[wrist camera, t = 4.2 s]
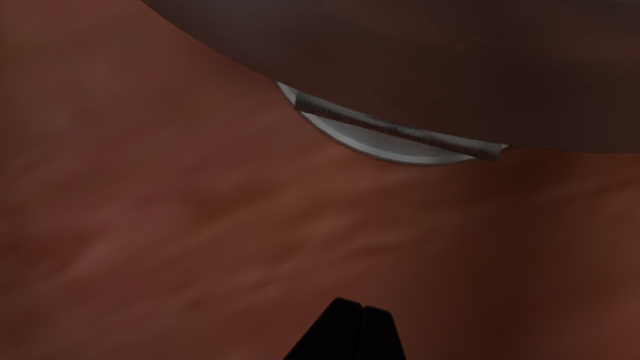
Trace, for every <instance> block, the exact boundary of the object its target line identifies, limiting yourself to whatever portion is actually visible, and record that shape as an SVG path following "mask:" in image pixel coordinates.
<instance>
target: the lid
mask: <svg viewBox="0 0 640 360" xmlns="http://www.w3.org/2000/svg"><path fill="white" fill-rule="evenodd" d="M141 1H142V2H143V3H145V4H146V5H147V6H149V7H150V8H151V9H153V10H154V11H155V12H157V13H158V14H159V15H161V16H162V17H163V18H165V19H166V20H167V21H169V22H170V23H172V24H174V25H175V26H177V27H178V28H180V29H181V30H183V31H184V32H186V33H187V34H189V35H190V36H192V37H193V38H195V39H197V40H198V41H200V42H202V43H203V44H205V45H207V46H209V47H210V48H212V49H214V50H215V51H217V52H219V53H221V54H222V55H224V56H226V57H228V58H230V59H232V60H234V61H236V62H238V63H240V64H242V65H244V66H245V67H247V68H249V69H251V70H254V71H256V72H258V73H260V74H262V75H264V76H266V77H269V78H271V79H273V80H275V81H277V82H280V83H282V84H284V85H287V86H289V87H292V88H294V89H296V90H298V91H297V95H296V100H295V107H294V109H295V110H297V111H301V112H305V113H308V114H312V115H316V116H320V117H324V118H327V119H331V120H335V121H339V122H342V123H346V124H350V125H354V126H358V127H361V128H365V129H369V130H373V131H376V132H380V133H384V134H388V135H392V136H395V137H399V138H403V139H407V140H411V141H414V142H418V143H422V144H426V145H429V146H433V147H437V148H441V149H445V150H448V151H452V152H456V153H460V154H463V155H467V156H471V157H475V158H479V159H482V160H486V161H490V162H495V161H496V160H497V158H498V156H499V153H500V151H501V148H502V144H504V145H511V146H519V147H527V148H537V149H548V150H559V151H573V152H593V153H640V0H141Z"/></svg>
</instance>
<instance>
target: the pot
mask: <svg viewBox="0 0 640 360" xmlns="http://www.w3.org/2000/svg"><path fill="white" fill-rule="evenodd" d="M274 82H275V83H276V85H277V86H278V88H279V89H280V91H281V92H282V94H283V95H284V97H285V98H286V99H287V101H288V102H289V103H290V104H291V105H292V106H293V107H295V100H296V95H297V91H298V90H296V89H294V88H292V87H289V86H287V85H284V84H282V83H280V82H277V81H275V80H274ZM296 111H297V110H296ZM297 112H298V113H299V114H300V115H301V116H302V117H303V118H304V119H305V120H307V121H308V122H309V123H310V124H311V125H312V126H314V127H315V128H316V129H317V130H318V131H320V132H321V133H323V134H324V135H326V136H327V137H329V138H330V139H332V140H333V141H335V142H336V143H338V144H340V145H343V146H345V147H347V148H349V149H351V150H353V151H355V152H357V153H360V154H363V155H365V156H368V157H371V158H374V159H377V160H381V161H386V162H391V163H396V164H401V165H411V166H425V167H427V166H444V165H453V164H459V163H464V162H469V161H474V160H477V159H479V158H475V157H471V156H467V155H463V154H460V153H456V152H452V151H448V150H445V149H441V148H437V147H433V146H429V145H426V144H422V143H418V142H414V141H411V140H407V139H403V138H399V137H395V136H392V135H388V134H384V133H380V132H376V131H373V130H369V129H365V128H361V127H358V126H354V125H350V124H346V123H342V122H339V121H335V120H331V119H327V118H324V117H320V116H316V115H312V114H308V113H305V112H301V111H297ZM509 146H511V145H504V144H502V148H501V150H503V149H505V148H507V147H509Z"/></svg>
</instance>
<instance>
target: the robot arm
mask: <svg viewBox="0 0 640 360" xmlns="http://www.w3.org/2000/svg"><path fill="white" fill-rule="evenodd" d="M283 360H406V357H405V354H404V351H403V347H402V344H401V341H400V338H399V335H398V332H397V329H396V326H395V323H394V320H393V317H392V315H391V313H390V312H389V311H387V310H383V309H380V308H376V307H373V306H369V305H366V306H364V307H363V308H362V305H361V304H360V303H358V302H355V301H351V300H348V299H344V298H341V297H337V298H335V299H334V300H333V301H332V302H331V303H330V304H329V306H328V307H327V308H326V309H325V310H324V311H323V313H322V314H321V315H320V316H319V317H318V319H317V320H316V321H315V322H314V323H313V324H312V326H311V327H310V328H309V329H308V330H307V332H306V333H305V334H304V335H303V336H302V337H301V339H300V340H299V341H298V342H297V343H296V345H295V346H294V347H293V348H292V349H291V350H290V352H289V353H288V354H287V355H286V356H285V358H284V359H283Z"/></svg>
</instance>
